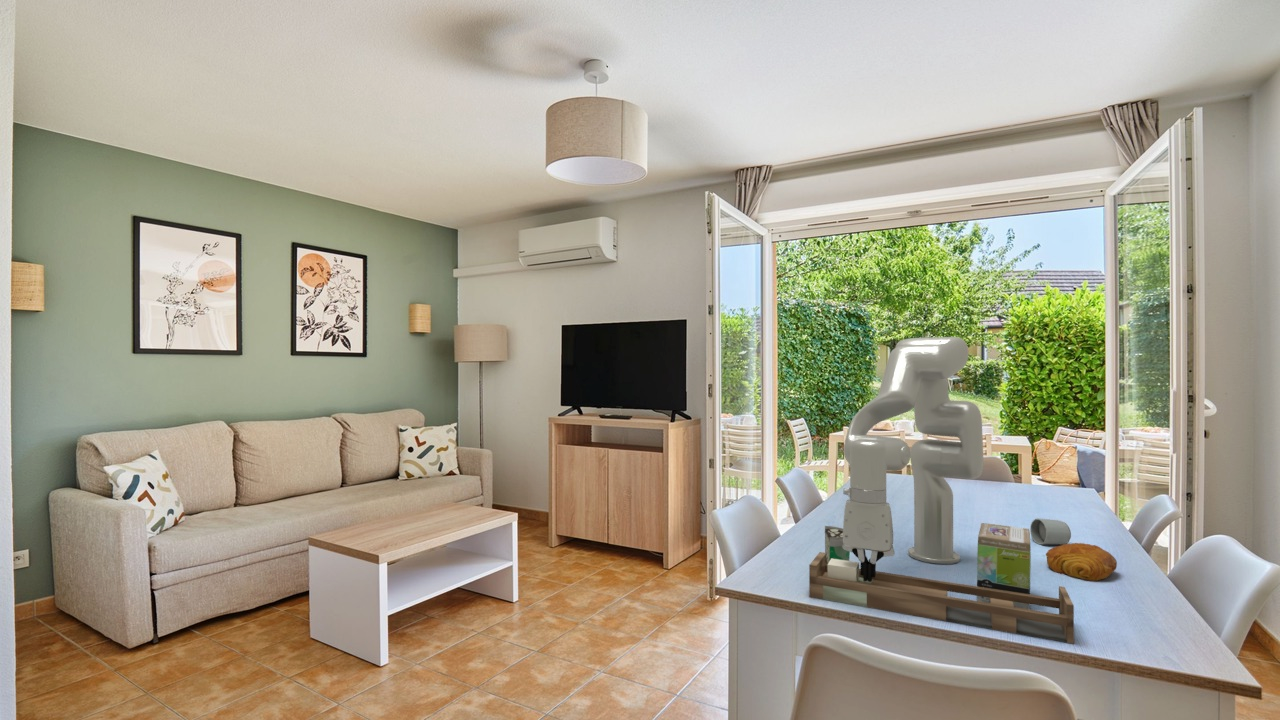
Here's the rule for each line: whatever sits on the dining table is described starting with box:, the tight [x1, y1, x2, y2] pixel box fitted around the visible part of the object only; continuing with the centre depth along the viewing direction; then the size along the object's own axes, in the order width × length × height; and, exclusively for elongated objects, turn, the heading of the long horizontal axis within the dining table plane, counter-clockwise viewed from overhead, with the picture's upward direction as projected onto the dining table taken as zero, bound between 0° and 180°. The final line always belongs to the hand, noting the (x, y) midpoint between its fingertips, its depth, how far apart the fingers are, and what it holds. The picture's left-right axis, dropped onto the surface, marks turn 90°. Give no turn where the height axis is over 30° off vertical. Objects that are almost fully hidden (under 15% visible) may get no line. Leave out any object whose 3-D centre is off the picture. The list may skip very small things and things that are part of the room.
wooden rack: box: [808, 551, 1075, 645], centre depth 127 cm, size 11×48×7 cm, turn 62°
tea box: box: [976, 522, 1032, 610], centre depth 134 cm, size 15×10×15 cm
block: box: [828, 558, 860, 582], centre depth 135 cm, size 5×6×4 cm
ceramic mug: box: [1029, 517, 1072, 546], centre depth 178 cm, size 10×8×7 cm
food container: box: [824, 525, 851, 564], centre depth 150 cm, size 12×6×10 cm, turn 168°
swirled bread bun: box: [1045, 542, 1118, 582], centre depth 152 cm, size 14×16×8 cm
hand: (868, 579), depth 133 cm, fingers closed
